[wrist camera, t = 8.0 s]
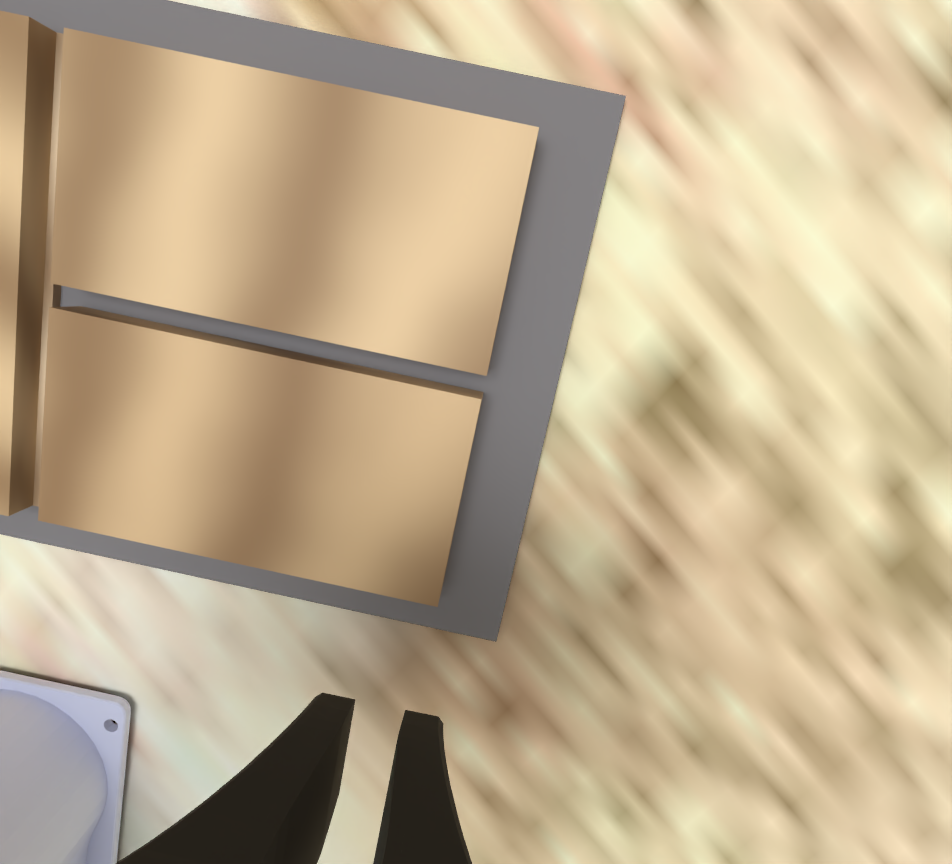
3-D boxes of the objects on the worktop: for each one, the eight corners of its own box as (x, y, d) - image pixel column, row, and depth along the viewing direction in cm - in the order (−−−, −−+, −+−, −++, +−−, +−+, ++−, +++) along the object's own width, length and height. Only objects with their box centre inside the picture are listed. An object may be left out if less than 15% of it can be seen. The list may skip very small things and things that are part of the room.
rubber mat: (496, 635, 22) (496, 641, 22) (-168, 491, 22) (-181, 495, 22) (623, 100, 18) (625, 96, 18) (-183, -68, 18) (-198, -76, 18)
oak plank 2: (68, 505, 21) (38, 520, 20) (80, 306, 20) (49, 307, 19) (442, 586, 21) (437, 606, 20) (483, 392, 20) (481, 399, 18)
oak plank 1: (82, 283, 20) (50, 283, 18) (96, 47, 18) (63, 27, 17) (488, 370, 20) (486, 375, 18) (536, 139, 18) (539, 127, 17)
